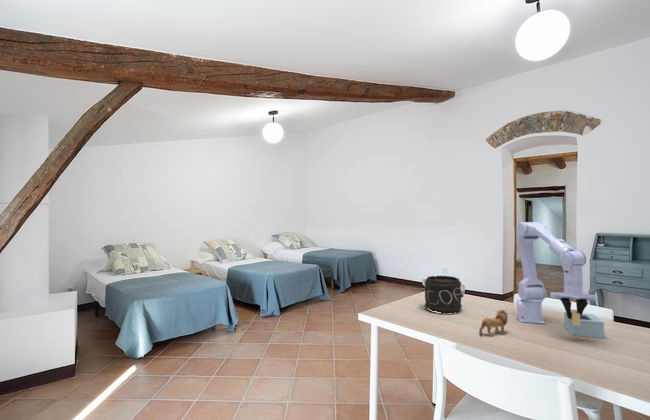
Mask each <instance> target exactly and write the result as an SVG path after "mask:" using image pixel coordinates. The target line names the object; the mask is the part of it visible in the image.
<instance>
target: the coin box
mask: <svg viewBox="0 0 650 420" xmlns="http://www.w3.org/2000/svg"><path fill="white" fill-rule="evenodd" d="M563 314H564V316H563V317H564V327H565V328H566V330H567V331H568V332H569V333H570V334H571V335H572V336H577V337H586V338H587V337H588V338H598V339H605V322H604V321H603V320H601V319H600V318H598V317H597V315H595V314H593V313H592V314H591V313H582V316H581V320H580V326H577V325H572V324H571V323H570V322H569V321H568V318H567V314H566V311H565V312H564V313H563Z"/></svg>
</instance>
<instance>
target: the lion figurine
mask: <svg viewBox="0 0 650 420" xmlns="http://www.w3.org/2000/svg"><path fill="white" fill-rule="evenodd" d="M496 312H497V313H496V315H495V317H491V318H489V317H485V318H483V319H482V321H481V324H480V328H479V331H478V335H480V337H482V336H483V330H484V329H485V328H486V329H487V334H488V335H489V336H490V337H494V334H492V333H491V331H492V328H495V330H494V333H497V334H499V333H501V334H502V335H506V333H505V332H504V330H505V326H506V325H507V324H508V313H507V312H506V310H505V309H499V310H497V311H496ZM499 328H500V332H499Z"/></svg>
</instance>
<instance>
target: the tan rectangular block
mask: <svg viewBox="0 0 650 420" xmlns="http://www.w3.org/2000/svg"><path fill="white" fill-rule="evenodd" d="M568 321H569V322H570V323H571V324H572V325H577V326H580V313H579V312H578V311H577V309H571V319H568Z"/></svg>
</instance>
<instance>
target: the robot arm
mask: <svg viewBox="0 0 650 420" xmlns="http://www.w3.org/2000/svg"><path fill="white" fill-rule="evenodd" d="M515 230H516V238H517V241H518V247H519V254H520V259H521V268H522V269H521V270H522V275H523V279H522V280H521V281H519V282H518V285H517V286H518V287H517V288H518V289H517V295H518V297H519V298H520V299H517V301H516V306H517V307H516V309H517V311H516V312H517V313H516V315H517V319H518V321H519V322H520V323H531V324H544V325H545V323H546V322H545V321H544V320H543V307H542V306H543V305H542V303H543V302H544V300H545V299H546V297H547V290H546V288H545V286H544V282H543V281H541V280H540V279H538V273H537V266H536V261H535V252H534V243H535V241H537V240H538V239H541V240H542V241H544V242H545V243H547V245H548V246H549V250H550V251H551V252H552V253H554V254H555V255H556V256H557V257H558V258H559V262H560V263H561V269H562V271H563V291H564V292H557V291H556V292H553V291H552V292H550V298H551V299H559V300H560V301H561V303H562V306H563V307H564V310H565V312H566V314H567V318H568V319H571V310H572V309H571V307H572V302H571V300H575V304H576V311H578V312H579V313H580V320H581V316H582V314H584V311H585V309H586V308H587V306H588V304H589V303H588V301H594V302H598V300H599V297H598V295H596V294H590V293H589V294H588V293H584V289H583V288H584V283H583V281H584V280H583V277H584V276H583V275H584V274H583V266H585V265H586V263H587V256H586V254H585V253H584V251H582V250H577V249H574V247H572V246H570V245H569V244H568V243H567V242H566V241H565V240H564V239H561V238H556V237H555V236H554V235H553V234H552V233H551V232H550V231H549V230H548V229H547V225H546V224H544V223H543V222H542V221H537V222H536V221H532V222H531V221H528V222H527V221H525V222H524V221H521V222H519V223H518V224H517V225H516V228H515Z"/></svg>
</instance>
